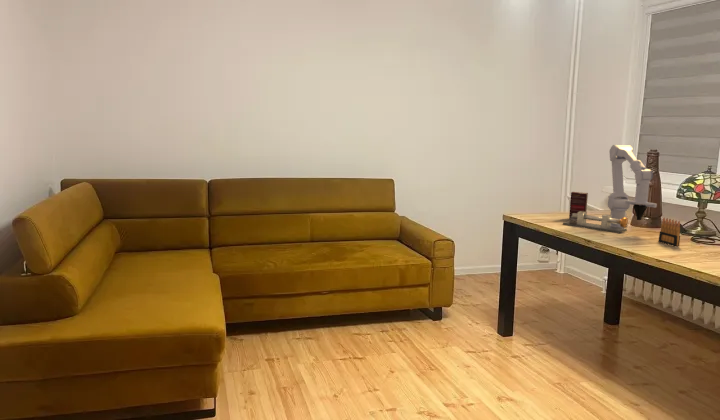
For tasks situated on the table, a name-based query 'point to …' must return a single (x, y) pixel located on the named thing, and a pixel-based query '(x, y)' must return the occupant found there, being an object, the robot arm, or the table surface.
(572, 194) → the supplement box
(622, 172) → the robot arm
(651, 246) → the table surface
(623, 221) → the shaft
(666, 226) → the ammunition clip
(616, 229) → the plate
